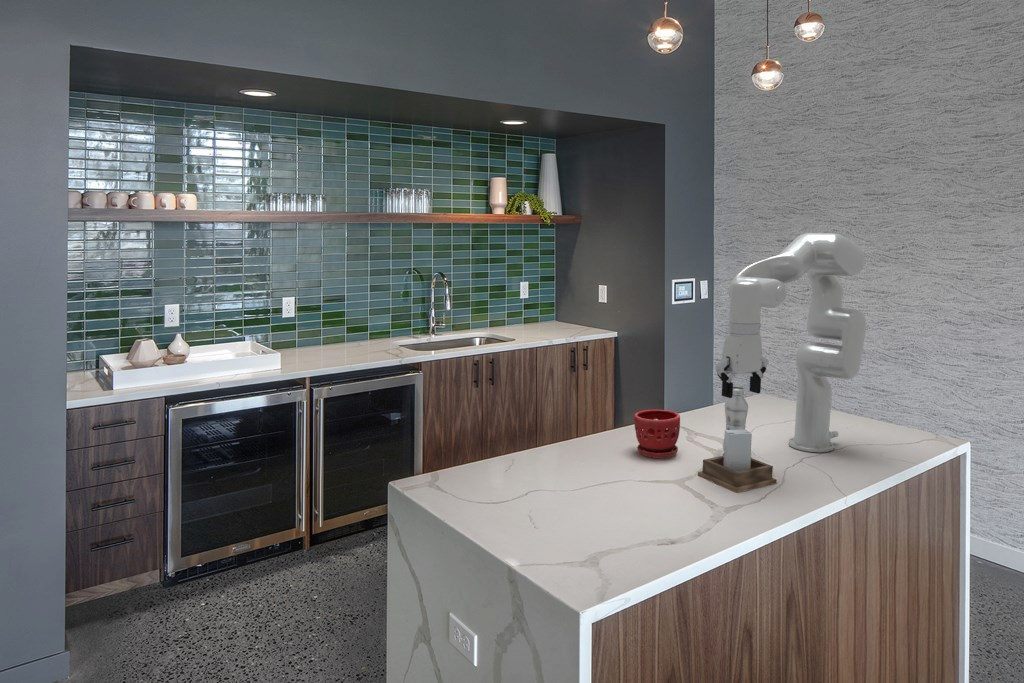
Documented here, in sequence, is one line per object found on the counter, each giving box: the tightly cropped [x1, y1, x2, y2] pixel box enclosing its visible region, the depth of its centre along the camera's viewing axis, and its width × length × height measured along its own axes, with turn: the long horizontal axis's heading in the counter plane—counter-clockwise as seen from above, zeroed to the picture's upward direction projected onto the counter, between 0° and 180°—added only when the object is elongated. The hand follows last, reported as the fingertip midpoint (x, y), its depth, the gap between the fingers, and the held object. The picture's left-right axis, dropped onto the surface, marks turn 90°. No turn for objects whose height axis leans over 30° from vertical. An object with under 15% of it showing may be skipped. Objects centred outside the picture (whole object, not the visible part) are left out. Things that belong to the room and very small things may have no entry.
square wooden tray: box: [697, 455, 778, 494], centre depth 188 cm, size 14×14×4 cm
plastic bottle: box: [722, 386, 749, 451], centre depth 206 cm, size 6×7×20 cm
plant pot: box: [633, 409, 681, 459], centre depth 209 cm, size 13×13×12 cm
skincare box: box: [723, 429, 753, 472], centre depth 187 cm, size 6×4×12 cm
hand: (741, 394), depth 185 cm, fingers open, 9 cm apart
